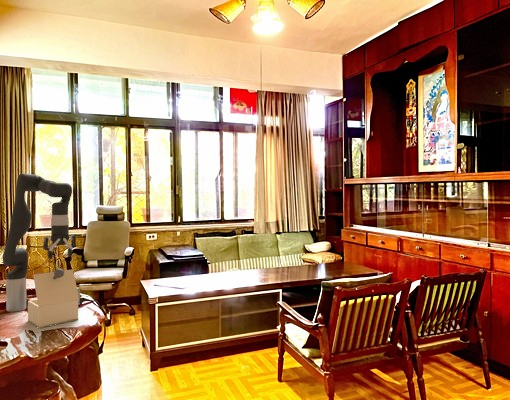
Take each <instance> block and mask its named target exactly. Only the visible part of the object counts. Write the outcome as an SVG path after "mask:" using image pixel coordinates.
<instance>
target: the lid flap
mask: <svg viewBox="0 0 510 400" xmlns="http://www.w3.org/2000/svg"><path fill="white" fill-rule="evenodd" d="M32 277H33V281H34V289H35V295H36V299H37V301H38V307H43V306H49V305H54V304H59V303H65V302H70V301H75V300H79V296H78V291H77V283H76V278H75V273H74V269H73V268H72V269H63V268H56V269H55V270H54V271H51V272H44V273H35V274H33V275H32Z"/></svg>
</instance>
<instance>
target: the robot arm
mask: <svg viewBox="0 0 510 400" xmlns="http://www.w3.org/2000/svg"><path fill="white" fill-rule="evenodd" d="M26 192H27V193H28V192H29V193H32V192H33V193H34V192H35V193H36V192H41V193H42V194H45V195H48V196H49V197H50V198H61V199H60V200H59V201H56V202H53V203H52V204H51V218H50V219H51V220H50V221H51V225H50V230H51V231H50V237H47V236H44V237H43V246H42V249H43V250H44V251H47V258H48V259H49V260H52V259H53V249H54V248H55V247H56V246H59V247H60V246H66V247H67V257H68V258H71V256H73V249H75V248H76V247H77V241H76V240H77V238H76V235H74V234H73V235H70V234H69V232H70V228H69V225H70V222H69V220H70V219H69V205H70V200H71V197H72V194H73V188H72V185H71V184H70V183H68V182H57V181H55V180H49V179H45V178H44V177H42V176H40V175H38V174H32V173H20V174H18V176H17V179H16V185H15V193H14V204H13V210H12V212H11V218H10V222H9V230H8V235H7V239H6V243H5V247H4V250H3V254H2V263H3V265H4V266H5V267H14V268H13V269H12V270H11V271H9V272H7V273H6V274H5V275H6V283H5V284H6V290H5V291H6V300H5V301H6V304H5V305H6V306H5V308H6V309H5V310H6V312H9V313H11V312H20V311H24V310H25V309H27V273H28V269H29V268H28V265H29V254H28V250H27V249H26V248H24V247H19V248H18V244H19V242H20V241H21V240H22V238H23V237H24V236H25V235H26V233H28V231H29V230H30V228H31V223H32V219H33V215H32V212H31V210H30V207H29V206H28V205H27V202H26V198H25V195H26ZM69 240H70V242H71V243H70V242H69ZM50 241H51V243H50Z"/></svg>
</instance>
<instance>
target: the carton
mask: <svg viewBox="0 0 510 400" xmlns="http://www.w3.org/2000/svg"><path fill="white" fill-rule="evenodd" d="M78 320H79V304H78V300H75V301H70V302H65V303H59V304H54V305H49V306H43V307H38V301H37V298H35V299H31V300H27V322H28V323H30V324H32V325H33V326H34V327H36V328H37V327H38V329H39V328H40V329H42V328H41V327H44V328H47V327H46V326H49V327H51V326H50V325H53V326H56V325H55V324H58V325H60V324H59V323H62V324H66V323H70V321H71V322H75V321H78ZM65 322H66V323H65Z"/></svg>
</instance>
